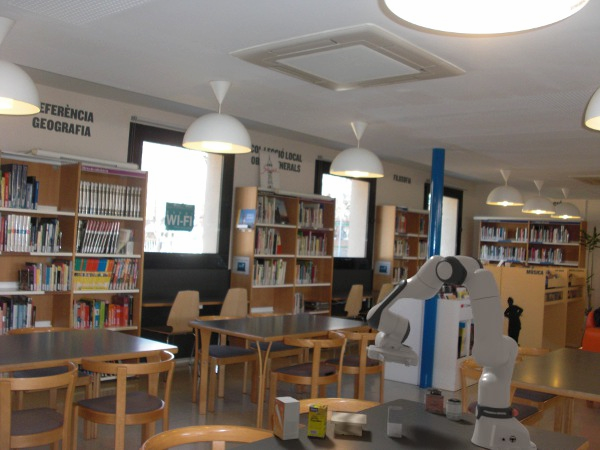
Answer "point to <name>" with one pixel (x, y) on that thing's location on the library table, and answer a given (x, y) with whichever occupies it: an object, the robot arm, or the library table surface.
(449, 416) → the camera lens
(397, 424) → the block
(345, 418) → the birch stand
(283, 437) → the small box
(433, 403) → the lighter
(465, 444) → the library table surface
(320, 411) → the supplement box
